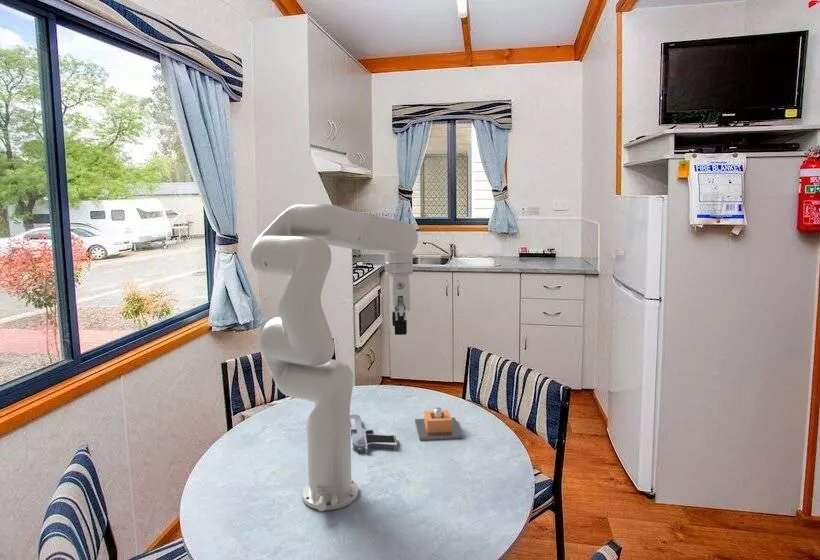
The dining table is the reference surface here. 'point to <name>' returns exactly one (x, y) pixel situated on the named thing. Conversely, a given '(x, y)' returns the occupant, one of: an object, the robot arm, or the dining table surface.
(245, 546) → the dining table surface
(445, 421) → the orange square ring block
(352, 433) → the handgun
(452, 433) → the plate
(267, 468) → the dining table surface
